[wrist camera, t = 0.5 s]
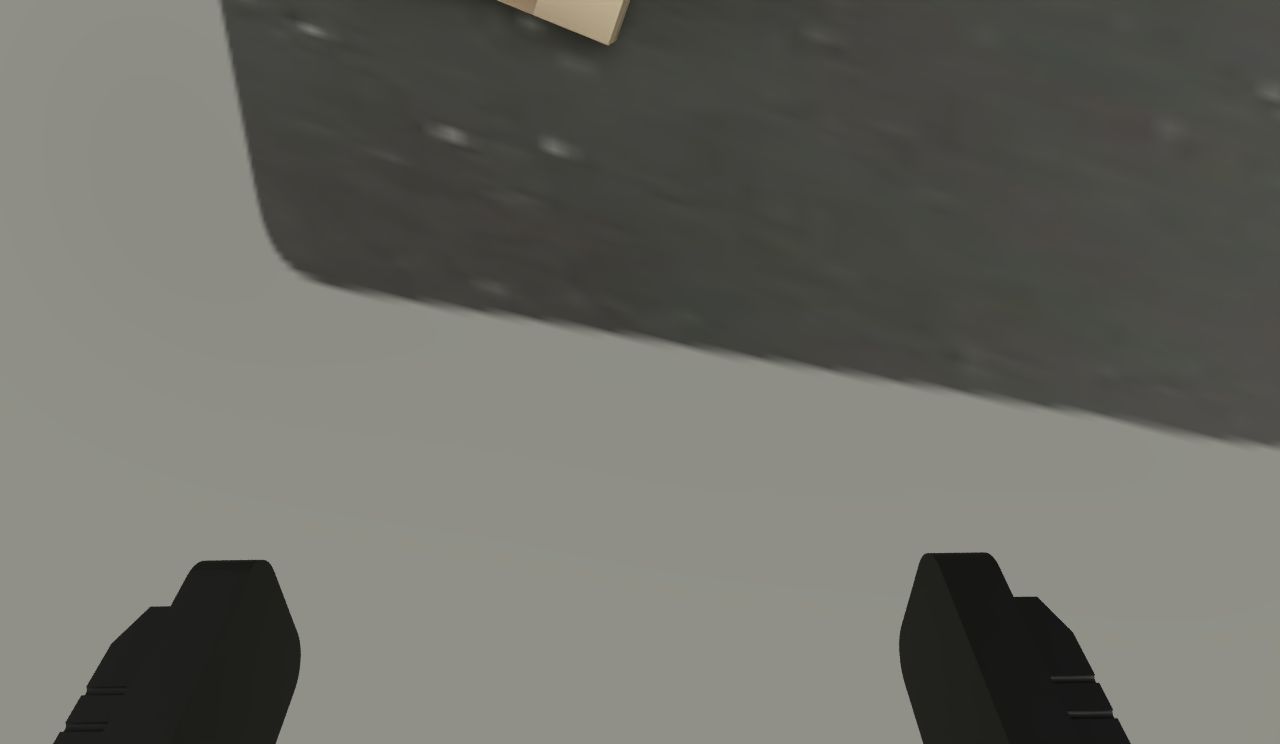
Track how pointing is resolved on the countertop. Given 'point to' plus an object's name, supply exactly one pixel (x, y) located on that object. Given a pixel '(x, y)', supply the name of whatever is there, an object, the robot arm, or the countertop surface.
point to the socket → (579, 15)
